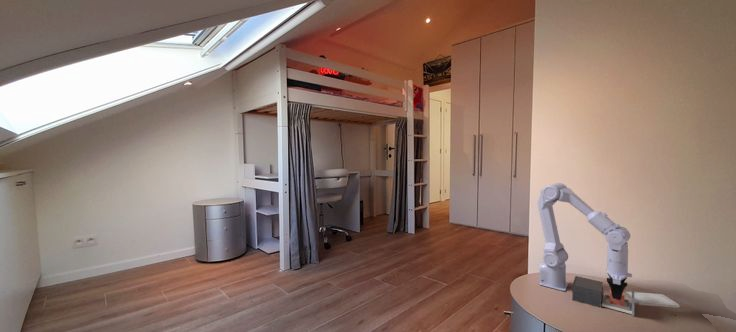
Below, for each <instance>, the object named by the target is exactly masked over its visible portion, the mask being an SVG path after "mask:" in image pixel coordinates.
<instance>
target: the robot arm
mask: <svg viewBox="0 0 736 332" xmlns="http://www.w3.org/2000/svg"><path fill="white" fill-rule="evenodd" d="M539 193H540V195H539V197H538V200H537V208H538V213H539V217H540V218H539V219H540V222H541V226H542V231H543V237H544V241H545V245H544V247H543V256H542V259H543V261H544V262H543V261H542V262H540V264H539V273H538V274H539V277H538V279H539V283H538V285H539V286H544V287H547V288H552V289H554V290H557V291H562V292H566V290H567V289H568V285H569V283H568V282H567V279H566V277H567V275H566V274H567V271H566V270H567V267H566V265H567V264H566V262H567V261H568V260H569V254H568V252H567V250H566V249H565V247H564V244H562V243H561V240H560V235H559V231H558V225H557V222H556V218H555V213H554V208H553V206H554V205H555V204H556V203H557V201H558V202H563V203H569V205H571V206H573V207H574V208H575V209H576V210H577V211H579V212H580V213H582V214H583V215H584V216H586V219H587V222H588V223H589V224H590V225H591V226H593V228H595V229H596V230H597V231H599V233H601V234H602V235H604V239H605V240H606V242H607V250H606V251H607V253H606V254H607V255H606V256H607V257H606V259H607V261H606V262H607V263H606V268H607V269H606V274H607V275H608V277H606V282H607V284H608V286H609V288H610V289H611V293H612V297H613V299H617V300H621V297H622V293H623V292H625V289H626V287H627V286H628V282H625V281H626V280H627V279H628V278H632V277H633V274H632V273H631V272H630V273H629V248H628V247H629V242H628V241H629V240H630V239H631V233H630V231H629V230H628V229H627V228H626V227H625V226H621V225H620V224H619V223H616V222H614V220H612V219H610V218H609V217H608V214H607V213H605V212H601V211H596V210H594V209H593V208H592V206H590V205H588V204H587V203H586V202H585V201H584V200H583V199H581V198H580V197H579V196H578V195H577V194H576V193H575V192H574V191H573V190H572V188H569V187H568V186H567V185H565V184H564V183H561V182H556V183H554V184H548V185H546V186H544V187H543V188H542V189H541V190H540V192H539Z"/></svg>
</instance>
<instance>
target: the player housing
mask: <svg viewBox="0 0 736 332" xmlns="http://www.w3.org/2000/svg"><path fill="white" fill-rule="evenodd" d="M603 284H604V283H603V281H600V280H596V279H591V278H586V277H582V276H578V275H575V276H574V280H573V283H572V291H571V292H572V294H571V295H572V297H571V298H572V301H575V302H579V303H581V304H587V305H590V306H594V307H596V306H597V308H600V307H601V308H602V298H601V297H603V296H604V293H603V292H604V291H603V290H604V285H603Z"/></svg>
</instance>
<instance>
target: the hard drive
mask: <svg viewBox="0 0 736 332" xmlns="http://www.w3.org/2000/svg"><path fill="white" fill-rule="evenodd" d="M625 293H626V294H627V295H629V296H630V297H631V298H632V291H624V294H625ZM626 294H625V295H626ZM627 295H626V296H627ZM629 296H628V297H629ZM630 297H629V298H630ZM631 298H630V299H631ZM634 298H635V303H636V302H637V303H636V304H638V305H640V306H651V307H665V308H676V309H677V308H680V307H681V305H680V304H678V303H677V302H676V301H674V300H673V299H671V298H669V297H668V296H667V295H665V294H664V293H652V292H637V291H634Z"/></svg>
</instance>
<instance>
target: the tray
mask: <svg viewBox="0 0 736 332" xmlns="http://www.w3.org/2000/svg"><path fill="white" fill-rule="evenodd" d="M631 292H632V298H630V299H631V300H630V299H625V298H624V307H623V306H619V305H615V304H611V303H610V294H604V295H603V298H602V300H601V307H604V308H607V309H611V310H614V311H618V312H623V313H627V314H629V315H631V316H635V303H636V302H635V298H634V292H635V289H634V288H631ZM630 301H631V302H630Z"/></svg>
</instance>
